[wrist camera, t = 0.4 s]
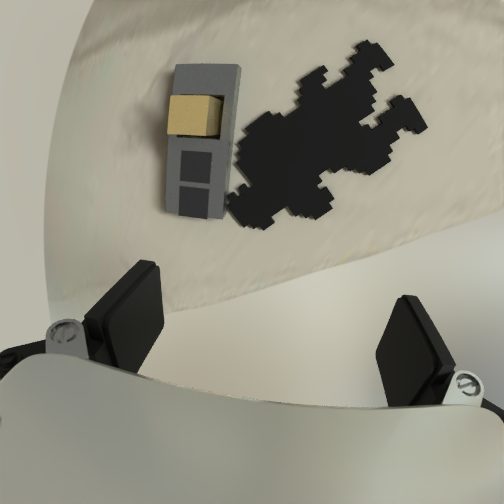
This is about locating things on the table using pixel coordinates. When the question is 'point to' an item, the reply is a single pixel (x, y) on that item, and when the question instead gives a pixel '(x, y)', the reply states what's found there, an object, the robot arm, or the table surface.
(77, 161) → the table surface
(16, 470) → the robot arm
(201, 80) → the rail
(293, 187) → the black pixelated cutout
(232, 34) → the table surface
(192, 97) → the block
